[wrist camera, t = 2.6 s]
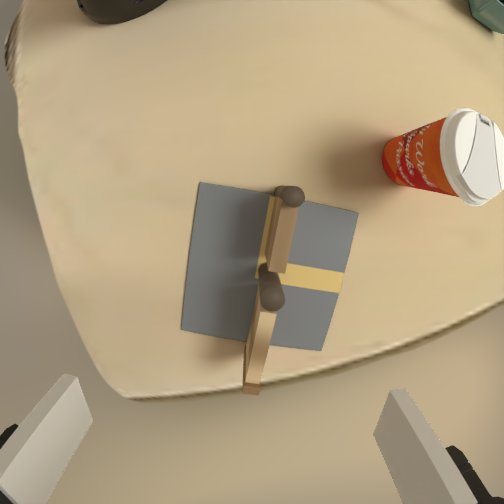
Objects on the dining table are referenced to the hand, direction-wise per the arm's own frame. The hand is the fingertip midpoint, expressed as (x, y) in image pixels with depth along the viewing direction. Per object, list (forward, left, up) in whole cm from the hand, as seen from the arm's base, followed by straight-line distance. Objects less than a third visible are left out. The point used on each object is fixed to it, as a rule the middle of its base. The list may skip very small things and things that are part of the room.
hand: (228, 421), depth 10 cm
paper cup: (+16, +15, -22) cm, 31 cm away
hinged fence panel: (+3, -6, -21) cm, 22 cm away
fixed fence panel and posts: (+3, +4, -22) cm, 23 cm away
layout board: (+3, 0, -22) cm, 22 cm away
